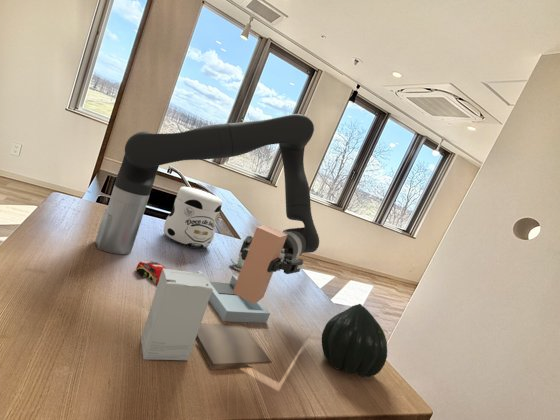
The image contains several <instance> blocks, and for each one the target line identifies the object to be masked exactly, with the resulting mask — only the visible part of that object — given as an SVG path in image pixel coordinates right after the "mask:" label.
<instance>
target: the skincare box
mask: <svg viewBox="0 0 560 420" xmlns="http://www.w3.org/2000/svg"><path fill="white" fill-rule="evenodd" d="M208 280H209V279H208V277H207V275H206V273H203V274H202V273H197V272H192V271H183V270H177V269H170V268H169V269H168V268H166V269H164V268H163V269H162V272H161V275H160V279H159V282H158V285H157V284H156V288H155V292H154V295H153V299H152V301H151V304H150V308H149V311H148V314H147V318H146V321H145V324H144V327H143V328H144V329H143V331H142V334H141V338H140V343H141V352H142V359H143V360H149V361H150V360H155V361H156V360H158V361H160V360H161V361H189V359H190V357H191V354H192V351H193V347H194V344H195V342H196V340H195V339H196V336H197V333H198V330H199V328H200V325H201V323H203V322H202V321H203V319H204V316H205V312H206V310H207V307H208V304H209V302H210V301H209V299H210V296H211V293H212V291H213V288H212V287H211V285H210V283H209V281H210V280H209V281H208Z"/></svg>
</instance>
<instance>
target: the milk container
mask: <svg viewBox="0 0 560 420" xmlns="http://www.w3.org/2000/svg"><path fill="white" fill-rule="evenodd" d="M222 206H223V199H221V198H220V197H218V196H216V195H215V194H212V193H209V192H207V191H204V190H202V189H197V188H194V187H190V186H180V188H179V190H178V192H177V194H176V197H175V199H174V203H173V206H172V208H171V209H172V210H171V211H170V213H169V214H168V216H167V217H166V218H165V221H164V225H163V233H164V235H165V237H166V238H167V239H169V240H170V241H172V242H174V243H176V244H178V245H181V246H184V247H188V248H192V249H204V248H207V247H209V246H210V244H212V241H213V240H214V237H215V231H216V230H215V229H216V225H217V224H216V223H217V220H218V217H219V215H220V211H221V210H222Z"/></svg>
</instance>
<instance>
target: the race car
mask: <svg viewBox="0 0 560 420" xmlns="http://www.w3.org/2000/svg"><path fill="white" fill-rule="evenodd" d="M163 268H164V269H167V267H165V266H164V265H163V264H162V263H160V262H157V261H152V260H140V261H139V262H138V264H137V265H136V268H135V270H136V273H138V275H139V276H140V277H142V278H143V279H147V278H148V279H149V280H150V281H152V283H154V284H155V285H156V286H157V285H158V282H159V279H160V275H161V272H162V269H163Z"/></svg>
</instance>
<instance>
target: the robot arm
mask: <svg viewBox="0 0 560 420" xmlns="http://www.w3.org/2000/svg"><path fill="white" fill-rule="evenodd" d="M314 132H315V125H314V123H313V121H312V120H311V119H310V118H309V117H308V116H306V115H304V114H300V113H292V114H288V115H283V116H278V117H273V118H269V119H268V118H267V119H262V120H261V119H260V120H251V121H242V122H241V121H240V122H229V123H217V124H210V125H205V126H201V127H200V126H199V127H196V128H192V129H189V130H186V131H182V132H170V133H167V132H166V133H153V132H150V131H139V132H136V133H135V134H133V135H131V136H130V137H129V138H128V140H127V141H126V143H125V145H124V155H123V158H122V163H121V165H120V166H119V169H118V172H117V175H116V178H115V181H114V185H113V188H112V191H111V195H110V198H109V202H108V205H107V208H105V209H104V211H103V214H102V217H101V220H100V224H99V227H98V230H97V234H96V237H95V245H96V248H97V250H102V251H104V252H107V253H112V254H117V255H129V254H131V252H132V251H133V247H134V245H135V242H136V238H137V235H138V232H139V229H140V225H141V223H142V220H143V216H144V213H145V211H146V207H147V203H148V201H149V198H150V194H151V191H152V189H153V185H154V183H155V179H156V176H157V172H158V170H159V167H160V166H163V165H167V164H171V163H176V162H181V161H182V162H183V161H204V160H213V159H214V160H215V159H225V158H226V159H227V158H233V157H234V158H235V157H238V156H242V155H245V154H247V153H250V152H253V151H255V150H257V149H260V148H262V147H265V146H270V145H271V146H272V145H279V150H280V154H281V159H282V160H281V161H282V165H283V172H284V173H283V174H284V189H285V191H284V192H285V213H286V214H285V215H286V218H287V219H289V220H291V221H298V222H302V224H303V226H304V227H294V228H293V227H292V228H287V229H283V231H282V232H283V233H285V234H287V238H286V240H285V243H284V245H283V248H282V251H281V253H280V256H279V257H278V258H276V259H274V260H272V261H271V262H270V264H269V267H268V269H267V271H268V272H270V273H271V272H273V273H275V272H281V270H282V271H283V273H284V274H285V275H291V274H297V273H300V272H301V269H302V267H303V264H304V260H303V259H302V258H299V257H301V255H302V254H306V253H314V252H316V251H317V250H318V248H319V246H320V237H319V233H318V230H317V228H316V225H315V223H314V220H313V216H312V207H311V206H312V205H311V192H310V186H309V182H308V180H307V175H306V171H305V166H304V165H305V164H304V163H305V162H304V156H305V147H306V146H307V145H308V143H309V142H310V140H311V139H312V137H313V135H314ZM252 239H253V236H251V235H247V236H246V237H245V239H244V240H243V242H242V245H241V247H240V250H239V253H240V252H241V253H242V254H241V257H242V260H245V258H246V256H247V253H248V249H249V247H250V244H251V241H252Z"/></svg>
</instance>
